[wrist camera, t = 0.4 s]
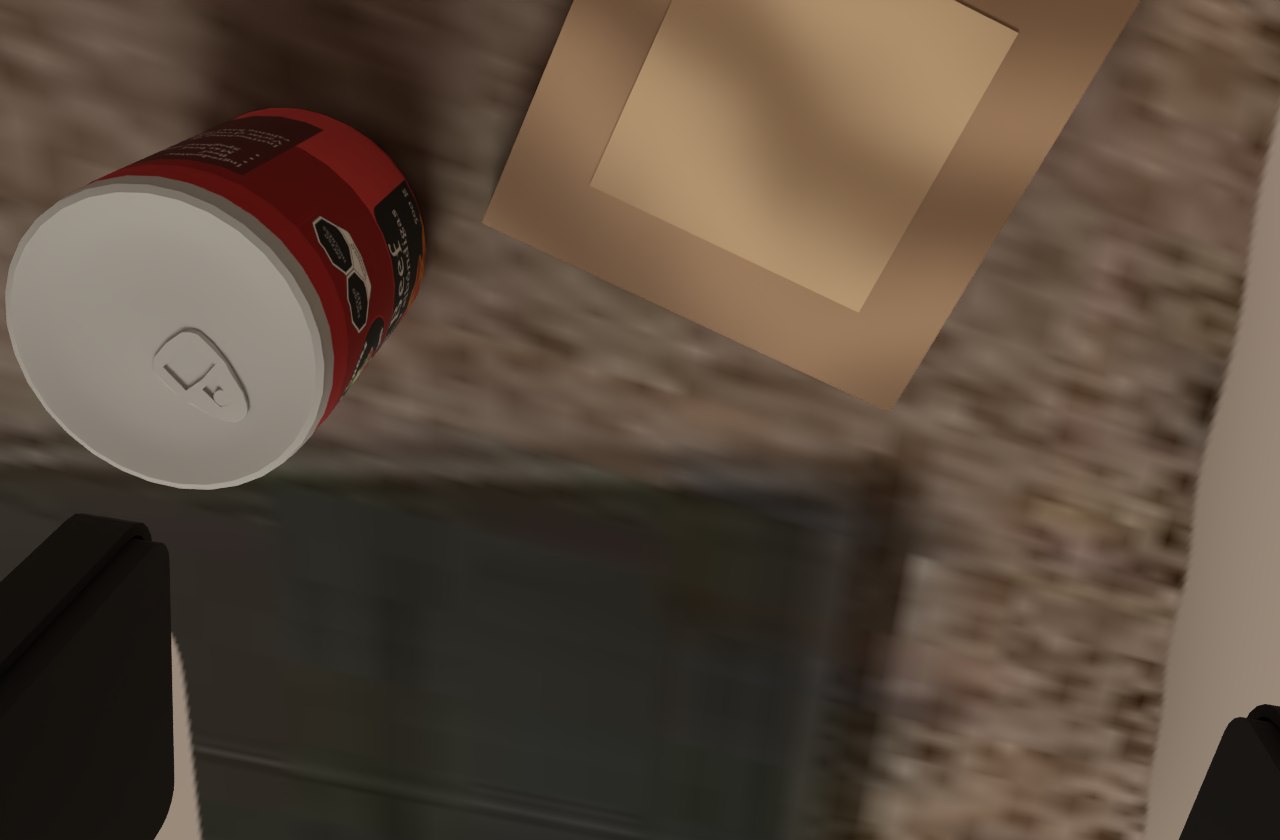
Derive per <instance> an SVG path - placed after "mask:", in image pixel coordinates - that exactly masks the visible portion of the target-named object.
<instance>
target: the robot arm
mask: <svg viewBox="0 0 1280 840" xmlns="http://www.w3.org/2000/svg"><path fill="white" fill-rule="evenodd" d="M171 657H172V656H171V611H170V566H169V553H168V550H167V547H166V546H165V545H164V544H163V543H159V542H153V541H152V539H151V534H150V532H149V529H148V527H147V526H146V525H144V524H143V523H139V522H133V521H127V520H120V519H114V518H108V517H102V516H96V515H89V514H83V513H82V514H75V515H73V516H72V517H70V518H69V519H67V520H66V521H65V522H64V523H63V524H62V525H61V526H60V527H59V528H58V529H57V530H56V531H54V532H53V533H52V534H51V535H50V536H49V537H48V538H47V539H46V540H45V541H44V542H43V543H42V544H41V545H40V546H38V547H37V548H36V549H35V550H34V551H33V552H32V553H31V554H30V555H29V556H28V557H27V558H26V559H25V560H24V561H22V562H21V563H20V564H19V565H18V566H17V567H16V568H15V569H14V570H13V571H12V572H11V573H10V574H9V575H8V576H6V577H5V578H4V579H3V580H2V581H1V582H0V840H154V839H155V837H156V835H157V834H158V832H159V830H160V829H161V827H162V825H163V823H164V821H165V819H166V816H167V814H168V811H169V808H170V805H171V801H172V796H173V791H174V746H173V705H172V704H173V703H172V658H171ZM1179 840H1280V706H1273V705H1267V704H1264V705H1260V706H1257V707H1256V708H1255V709H1254V710H1252V711H1251V712H1250V713H1249V715H1248V717H1247V718H1243V717H1239V718H1235V719H1233V720H1232V721H1231V722H1230V723H1229V724H1228V726H1227V728H1226V730H1225V731H1224V734H1223V736H1222V739H1221V741H1220V743H1219V746H1218V748H1217V751H1216V753H1215V755H1214V757H1213V760H1212V762H1211V765H1210V767H1209V769H1208V772H1207V774H1206V777H1205V779H1204V781H1203V784H1202V786H1201V788H1200V791H1199V793H1198V795H1197V798H1196V800H1195V803H1194V805H1193V808H1192V810H1191V812H1190V814H1189V817H1188V819H1187V821H1186V824H1185V826H1184V829H1183V831H1182V833H1181V836H1180V838H1179Z"/></svg>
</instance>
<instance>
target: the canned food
mask: <svg viewBox="0 0 1280 840" xmlns="http://www.w3.org/2000/svg"><path fill="white" fill-rule="evenodd" d="M425 258H426V244H425V235H424V226H423V221H422V217H421V214H420V211H419V207H418V204H417V201H416V198H415V196H414V194H413V192H412V190H411V188H410V186H409V184H408V182H407V180H406V178H405V176H404V175H403V174H402V172H401V171H400V170H399V168H398V167H397V166H396V164H395V163H394V162H393V161H392V159H391V158H390V157H389V156H388V155H387V154H386V153H385V152H384V151H383V150H382V149H381V148H380V147H379V146H378V145H377V144H375V143H374V142H373V141H372V140H371V139H369V138H368V137H366V136H365V135H363V134H362V133H360V132H359V131H357V130H356V129H354V128H353V127H351V126H349V125H347V124H344V123H342V122H340V121H337V120H335V119H333V118H330V117H328V116H326V115H323V114H320V113H316V112H311V111H307V110H302V109H298V108H268V109H263V110H258V111H253V112H248V113H246V114H244V115H241V116H239V117H237V118H235V119H232V120H230V121H228V122H226V123H223V124H221V125H219V126H216V127H214V128H212V129H210V130H207V131H205V132H203V133H201V134H198V135H196V136H194V137H192V138H189V139H187V140H185V141H183V142H180V143H178V144H176V145H174V146H171V147H169V148H167V149H164V150H162V151H160V152H158V153H155V154H153V155H151V156H149V157H146V158H144V159H142V160H140V161H137V162H135V163H133V164H131V165H128V166H126V167H124V168H122V169H119V170H117V171H115V172H113V173H110V174H108V175H106V176H104V177H101V178H99V179H97V180H95V181H92V182H91V183H89V184H88V185H86V186H84V187H82V188H79V189H77V190H75V191H73V192H71V193H69V194H68V195H66V196H65V197H64V198H63V199H61V200H60V201H58V202H57V203H56V204H55V205H53V206H52V207H51V208H50V209H48V210H47V211H46V212H45V213H43V214H42V215H41V216H39V217H38V218H37V219H36V220H35V222H34V223H33V224H32V226H31V227H30V228H29V230H28V231H27V232H26V234H25V235H24V236H23V238H22V239H21V240H20V243H19V245H18V247H17V250H16V252H15V255H14V257H13V259H12V262H11V264H10V267H9V273H8V280H7V286H6V293H5V300H6V317H7V326H8V330H9V334H10V338H11V342H12V346H13V349H14V353H15V356H16V358H17V360H18V362H19V364H20V367H21V369H22V371H23V373H24V375H25V378H26V380H27V382H28V384H29V385H30V387H31V388H32V390H33V391H34V393H35V394H36V396H37V397H38V398H39V400H40V401H41V403H42V404H43V406H44V407H45V409H46V410H47V411H48V412H49V413H50V414H51V416H52V417H53V418H54V419H55V420H56V421H57V422H58V423H59V424H60V425H61V426H62V427H63V429H64V430H65V431H66V432H67V433H68V434H69V435H71V436H72V437H73V438H74V439H75V440H77V441H78V442H79V443H80V444H82V445H83V446H84V447H85V448H87V449H88V450H89V451H90V452H92V453H93V454H94V455H96V456H98V457H100V458H101V459H103V460H105V461H106V462H108V463H110V464H112V465H113V466H115V467H117V468H118V469H120V470H122V471H125V472H127V473H130V474H132V475H135V476H137V477H140V478H142V479H145V480H147V481H150V482H154V483H158V484H163V485H167V486H172V487H177V488H184V489H207V490H210V489H217V488H224V487H231V486H237V485H240V484H243V483H246V482H248V481H251V480H254V479H256V478H259V477H262V476H264V475H265V474H267V473H268V472H270V471H271V470H273V469H274V468H276V467H278V466H279V465H281V464H282V463H284V462H285V461H286V460H287V459H288V458H289V457H290V456H292V455H294V454H295V453H296V452H297V450H298V449H299V448H300V447H301V446H302V445H303V444H304V443H305V442H306V441H307V440H308V439H309V438H310V437H311V436H312V434H313V433H314V432H315V431H316V429H317V428H318V427H319V425H320V424H321V423H322V422H323V421H324V420H325V419H326V418H327V417H328V415H329V414H330V413H331V411H332V410H333V409H334V408H335V406H336V405H337V404H338V402H339V401H340V400H341V398H342V397H343V396H344V394H345V393H346V392H347V390H348V389H349V388H350V387H351V385H352V384H353V383H354V381H355V380H356V379H357V377H358V376H359V375H360V373H361V372H362V371H363V370H364V368H365V367H366V366H367V364H368V363H369V362H370V360H371V359H372V358H373V356H374V355H375V354H376V352H377V351H378V350H379V349H380V347H381V346H382V345H383V343H384V342H385V341H386V339H387V338H388V337H389V335H390V334H391V333H392V332H393V330H394V329H395V328H396V326H397V325H398V324H399V322H400V321H401V320H402V318H403V317H404V316H405V315H406V313H407V312H408V310H409V308H410V306H411V305H412V303H413V301H414V299H415V298H416V296H417V294H418V291H419V288H420V285H421V281H422V278H423V275H424V269H425Z"/></svg>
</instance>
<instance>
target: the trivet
mask: <svg viewBox="0 0 1280 840" xmlns="http://www.w3.org/2000/svg"><path fill="white" fill-rule="evenodd" d="M1139 2H1140V0H574V1H573V3H572V5H571V8H570V10H569V13H568V15H567V18H566V20H565V22H564V25H563V27H562V30H561V32H560V35H559V37H558V39H557V42H556V44H555V47H554V49H553V51H552V54H551V56H550V59H549V61H548V64H547V66H546V68H545V71H544V73H543V76H542V78H541V81H540V83H539V85H538V88H537V90H536V93H535V95H534V97H533V100H532V102H531V105H530V107H529V110H528V112H527V114H526V117H525V119H524V122H523V124H522V126H521V129H520V131H519V134H518V136H517V139H516V141H515V143H514V146H513V148H512V151H511V153H510V156H509V158H508V160H507V163H506V165H505V168H504V170H503V172H502V175H501V177H500V180H499V182H498V185H497V187H496V189H495V192H494V194H493V197H492V199H491V202H490V204H489V206H488V209H487V211H486V214H485V216H484V218H483V221H482V224H484V225H487V226H489V227H491V228H493V229H495V230H497V231H500V232H502V233H504V234H506V235H508V236H510V237H512V238H515V239H517V240H519V241H521V242H523V243H525V244H528V245H530V246H532V247H534V248H536V249H538V250H540V251H543V252H545V253H547V254H549V255H551V256H553V257H556V258H558V259H560V260H562V261H564V262H566V263H568V264H571V265H573V266H575V267H577V268H579V269H581V270H584V271H586V272H588V273H590V274H592V275H594V276H596V277H599V278H601V279H603V280H605V281H607V282H609V283H612V284H614V285H616V286H618V287H620V288H622V289H624V290H627V291H629V292H631V293H633V294H635V295H637V296H640V297H642V298H644V299H646V300H648V301H650V302H652V303H655V304H657V305H659V306H661V307H663V308H665V309H668V310H670V311H672V312H674V313H676V314H678V315H680V316H683V317H685V318H687V319H689V320H691V321H693V322H696V323H698V324H700V325H702V326H704V327H706V328H708V329H711V330H713V331H715V332H717V333H719V334H721V335H724V336H726V337H728V338H730V339H732V340H734V341H736V342H739V343H741V344H743V345H745V346H747V347H749V348H752V349H754V350H756V351H758V352H760V353H762V354H764V355H767V356H769V357H771V358H773V359H775V360H777V361H780V362H782V363H784V364H786V365H788V366H790V367H792V368H795V369H797V370H799V371H801V372H803V373H805V374H808V375H810V376H812V377H814V378H816V379H818V380H820V381H823V382H825V383H827V384H829V385H831V386H833V387H836V388H838V389H840V390H842V391H844V392H846V393H848V394H851V395H853V396H855V397H857V398H859V399H861V400H864V401H866V402H868V403H870V404H872V405H874V406H876V407H879V408H881V409H883V410H885V411H887V412H889V413H890V412H891V411H892V409H893V407H894V406H895V404H896V402H897V401H898V399H899V397H900V396H901V394H902V392H903V391H904V389H905V388H906V386H907V384H908V383H909V381H910V379H911V378H912V376H913V374H914V373H915V371H916V369H917V368H918V366H919V364H920V363H921V361H922V360H923V358H924V356H925V355H926V353H927V351H928V350H929V348H930V346H931V345H932V343H933V341H934V340H935V338H936V336H937V335H938V333H939V331H940V330H941V328H942V327H943V325H944V323H945V322H946V320H947V318H948V317H949V315H950V313H951V312H952V310H953V308H954V307H955V305H956V303H957V302H958V300H959V299H960V297H961V295H962V294H963V292H964V290H965V289H966V287H967V285H968V284H969V282H970V280H971V279H972V277H973V275H974V274H975V272H976V271H977V269H978V267H979V266H980V264H981V262H982V261H983V259H984V257H985V256H986V254H987V252H988V251H989V249H990V247H991V246H992V244H993V243H994V241H995V239H996V238H997V236H998V234H999V233H1000V231H1001V229H1002V228H1003V226H1004V224H1005V223H1006V221H1007V219H1008V218H1009V216H1010V214H1011V213H1012V211H1013V210H1014V208H1015V206H1016V205H1017V203H1018V201H1019V200H1020V198H1021V196H1022V195H1023V193H1024V191H1025V190H1026V188H1027V186H1028V185H1029V183H1030V182H1031V180H1032V178H1033V177H1034V175H1035V173H1036V172H1037V170H1038V168H1039V167H1040V165H1041V163H1042V162H1043V160H1044V158H1045V157H1046V155H1047V154H1048V152H1049V150H1050V149H1051V147H1052V145H1053V144H1054V142H1055V140H1056V139H1057V137H1058V135H1059V134H1060V132H1061V130H1062V129H1063V127H1064V126H1065V124H1066V122H1067V121H1068V119H1069V117H1070V116H1071V114H1072V112H1073V111H1074V109H1075V107H1076V106H1077V104H1078V102H1079V101H1080V99H1081V97H1082V96H1083V94H1084V93H1085V91H1086V89H1087V88H1088V86H1089V84H1090V83H1091V81H1092V79H1093V78H1094V76H1095V74H1096V73H1097V71H1098V69H1099V68H1100V66H1101V65H1102V63H1103V61H1104V60H1105V58H1106V56H1107V55H1108V53H1109V51H1110V50H1111V48H1112V46H1113V45H1114V43H1115V41H1116V40H1117V38H1118V37H1119V35H1120V33H1121V32H1122V30H1123V28H1124V27H1125V25H1126V23H1127V22H1128V20H1129V18H1130V17H1131V15H1132V13H1133V12H1134V10H1135V9H1136V7H1137V5H1138V4H1139Z"/></svg>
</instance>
